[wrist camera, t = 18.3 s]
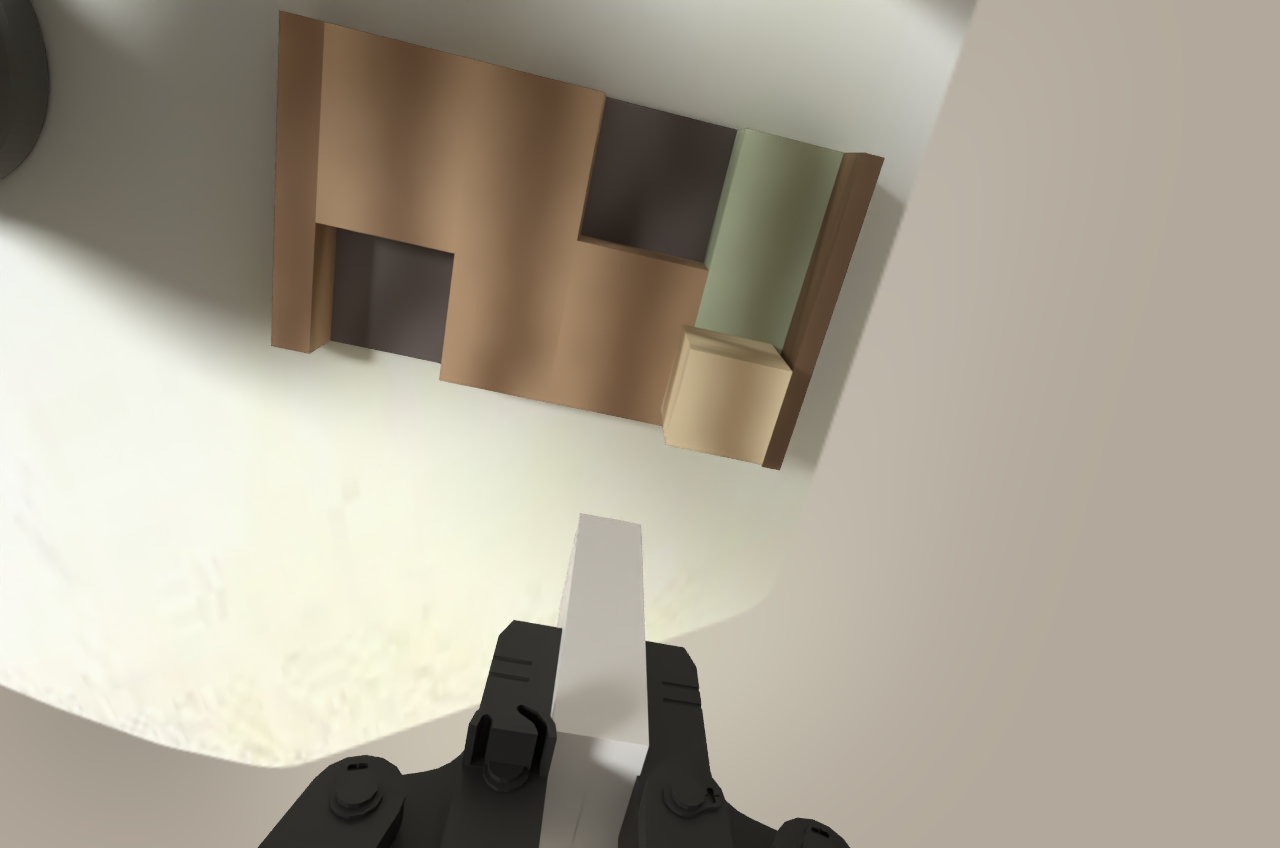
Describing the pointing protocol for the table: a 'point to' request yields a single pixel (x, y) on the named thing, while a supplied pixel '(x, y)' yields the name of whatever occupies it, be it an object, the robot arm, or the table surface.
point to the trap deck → (542, 226)
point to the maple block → (723, 394)
